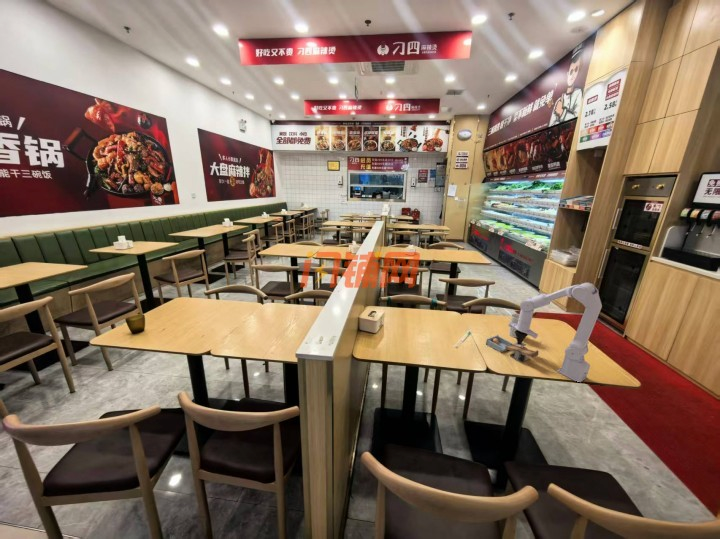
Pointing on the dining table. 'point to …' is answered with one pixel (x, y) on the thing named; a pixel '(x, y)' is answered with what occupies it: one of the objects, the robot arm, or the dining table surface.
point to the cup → (515, 320)
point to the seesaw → (522, 349)
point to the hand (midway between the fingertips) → (519, 343)
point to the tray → (500, 345)
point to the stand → (519, 356)
